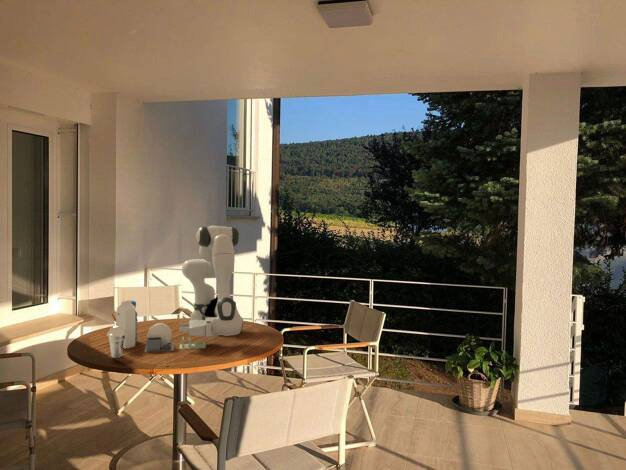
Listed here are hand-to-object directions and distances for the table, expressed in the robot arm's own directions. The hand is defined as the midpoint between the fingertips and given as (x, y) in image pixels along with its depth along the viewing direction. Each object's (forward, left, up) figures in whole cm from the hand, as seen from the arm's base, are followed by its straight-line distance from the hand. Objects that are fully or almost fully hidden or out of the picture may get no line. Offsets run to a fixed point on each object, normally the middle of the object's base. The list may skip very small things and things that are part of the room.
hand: (179, 327), depth 249 cm
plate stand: (0, +6, -10) cm, 12 cm away
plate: (0, -8, -9) cm, 12 cm away
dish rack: (0, -9, -10) cm, 13 cm away
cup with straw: (+10, -27, -10) cm, 30 cm away
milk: (-8, -25, -10) cm, 28 cm away
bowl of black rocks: (-33, +21, -10) cm, 41 cm away
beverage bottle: (-19, -25, -10) cm, 33 cm away
